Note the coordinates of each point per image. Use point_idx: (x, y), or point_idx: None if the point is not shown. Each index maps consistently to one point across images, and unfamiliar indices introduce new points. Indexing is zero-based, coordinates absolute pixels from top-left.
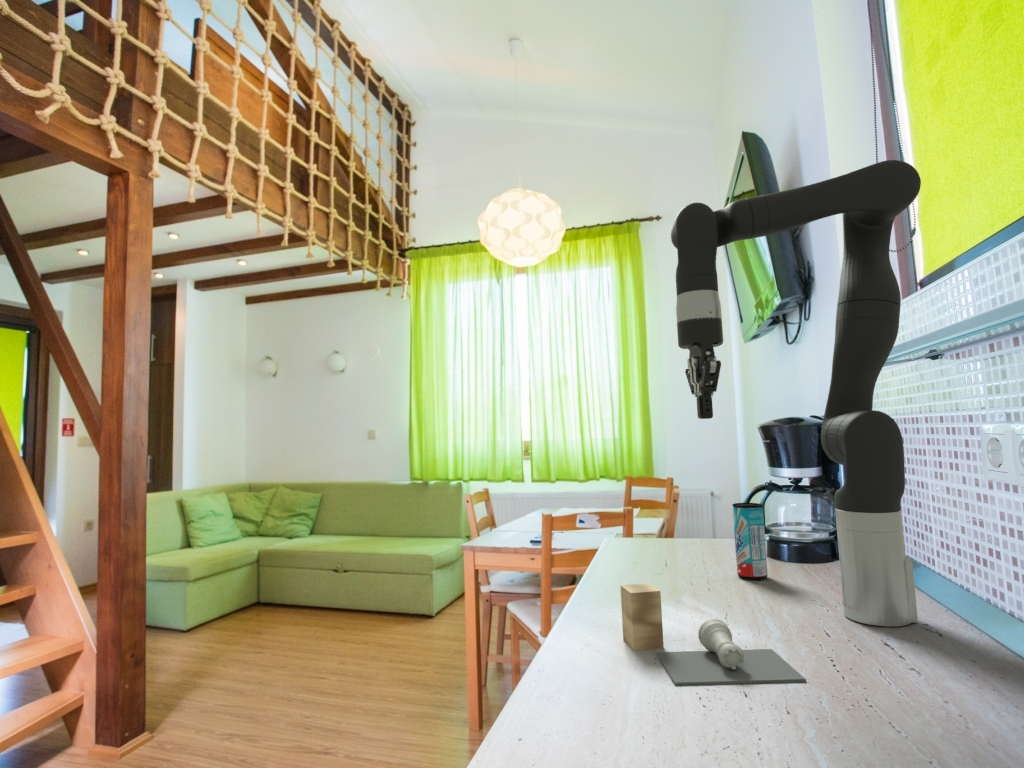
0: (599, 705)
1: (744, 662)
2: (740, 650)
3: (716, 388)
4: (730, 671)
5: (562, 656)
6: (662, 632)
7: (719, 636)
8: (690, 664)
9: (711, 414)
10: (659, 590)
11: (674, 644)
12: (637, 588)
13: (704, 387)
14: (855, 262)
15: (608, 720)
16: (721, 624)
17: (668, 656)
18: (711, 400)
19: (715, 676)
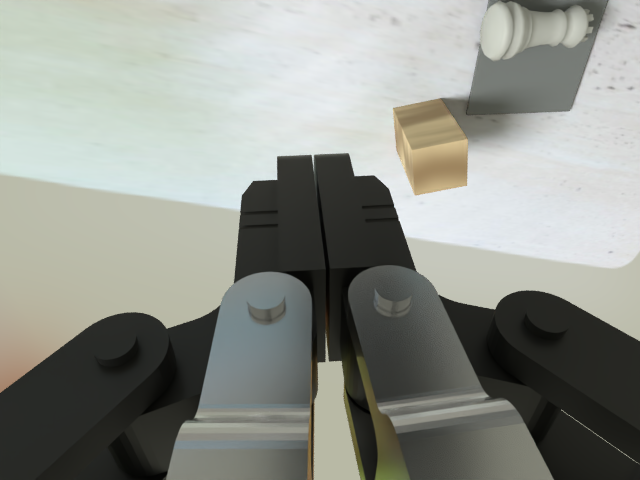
0: (580, 192)
1: None
2: (586, 15)
3: (589, 317)
4: None
5: (441, 223)
6: (447, 108)
7: (542, 38)
8: (524, 77)
9: (373, 177)
10: (465, 140)
11: (432, 79)
12: (442, 172)
13: (560, 418)
14: None
15: (613, 187)
16: (524, 29)
17: (487, 101)
18: (368, 243)
19: (574, 53)
